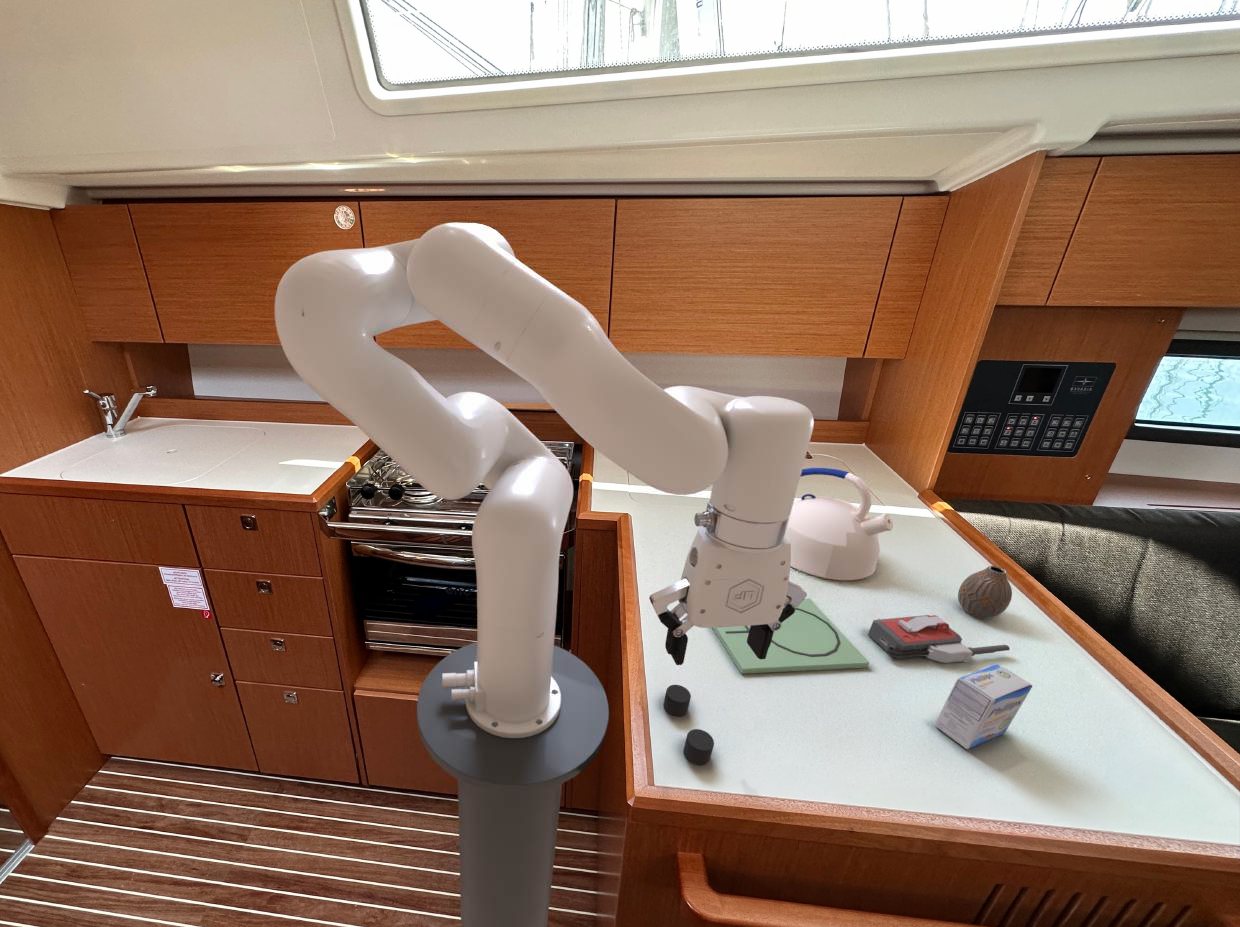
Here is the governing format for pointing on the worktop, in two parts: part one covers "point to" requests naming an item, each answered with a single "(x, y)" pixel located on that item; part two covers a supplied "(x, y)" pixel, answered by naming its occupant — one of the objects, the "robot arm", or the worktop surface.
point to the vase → (985, 593)
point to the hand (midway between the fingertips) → (715, 653)
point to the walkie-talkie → (924, 639)
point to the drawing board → (794, 645)
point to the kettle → (835, 533)
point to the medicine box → (982, 705)
